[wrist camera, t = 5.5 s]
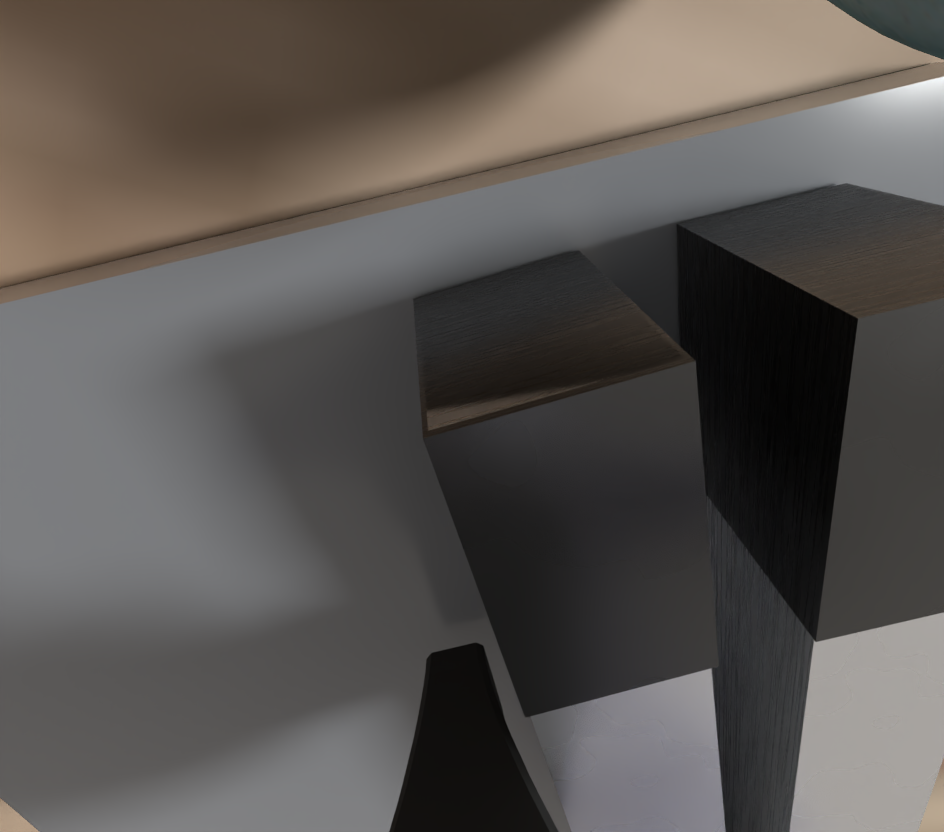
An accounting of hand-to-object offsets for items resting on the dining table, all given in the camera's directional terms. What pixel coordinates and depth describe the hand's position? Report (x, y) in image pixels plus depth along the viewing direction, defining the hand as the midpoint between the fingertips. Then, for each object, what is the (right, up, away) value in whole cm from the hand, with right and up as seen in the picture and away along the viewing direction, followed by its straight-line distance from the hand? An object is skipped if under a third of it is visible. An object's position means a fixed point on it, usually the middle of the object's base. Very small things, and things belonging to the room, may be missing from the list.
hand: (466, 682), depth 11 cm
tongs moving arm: (+3, -1, +2) cm, 3 cm away
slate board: (0, -2, +4) cm, 4 cm away
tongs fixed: (+5, -3, +4) cm, 7 cm away
